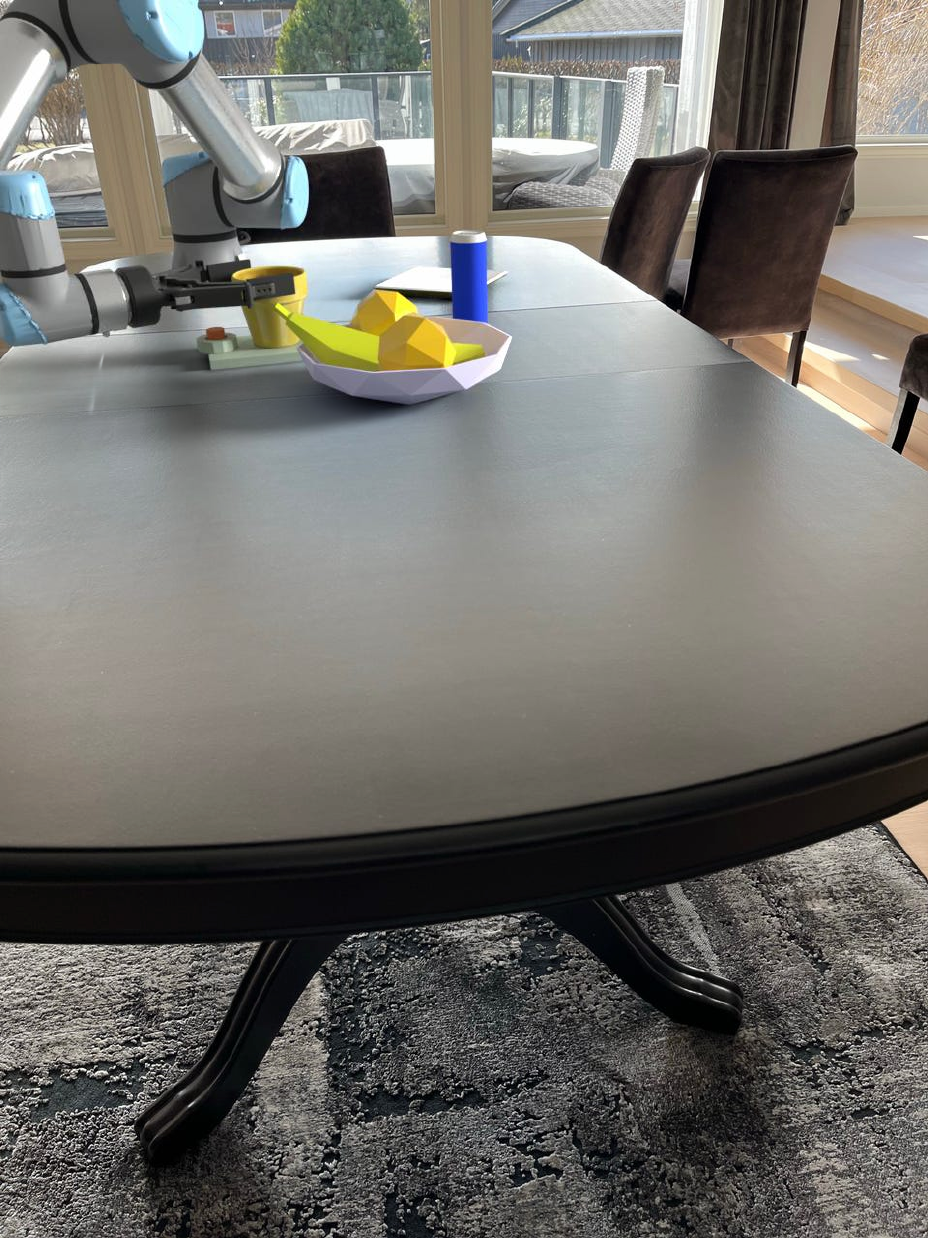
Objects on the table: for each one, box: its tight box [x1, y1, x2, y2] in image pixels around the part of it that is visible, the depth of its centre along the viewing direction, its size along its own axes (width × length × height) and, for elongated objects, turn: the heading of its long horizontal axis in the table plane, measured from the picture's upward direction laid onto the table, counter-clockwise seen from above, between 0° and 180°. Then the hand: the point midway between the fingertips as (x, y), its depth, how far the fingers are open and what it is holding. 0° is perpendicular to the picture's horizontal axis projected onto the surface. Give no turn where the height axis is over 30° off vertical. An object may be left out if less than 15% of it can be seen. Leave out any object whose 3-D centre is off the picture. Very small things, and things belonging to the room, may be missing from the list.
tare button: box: [205, 326, 226, 340], centre depth 134 cm, size 3×3×2 cm
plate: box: [373, 266, 509, 300], centre depth 171 cm, size 19×19×2 cm
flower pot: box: [231, 265, 309, 348], centre depth 134 cm, size 10×10×10 cm
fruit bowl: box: [273, 288, 513, 406], centre depth 118 cm, size 28×27×11 cm
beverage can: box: [449, 229, 489, 324], centre depth 136 cm, size 5×5×15 cm
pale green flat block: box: [196, 332, 304, 371], centre depth 136 cm, size 12×17×3 cm
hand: (271, 275), depth 132 cm, fingers open, 13 cm apart
